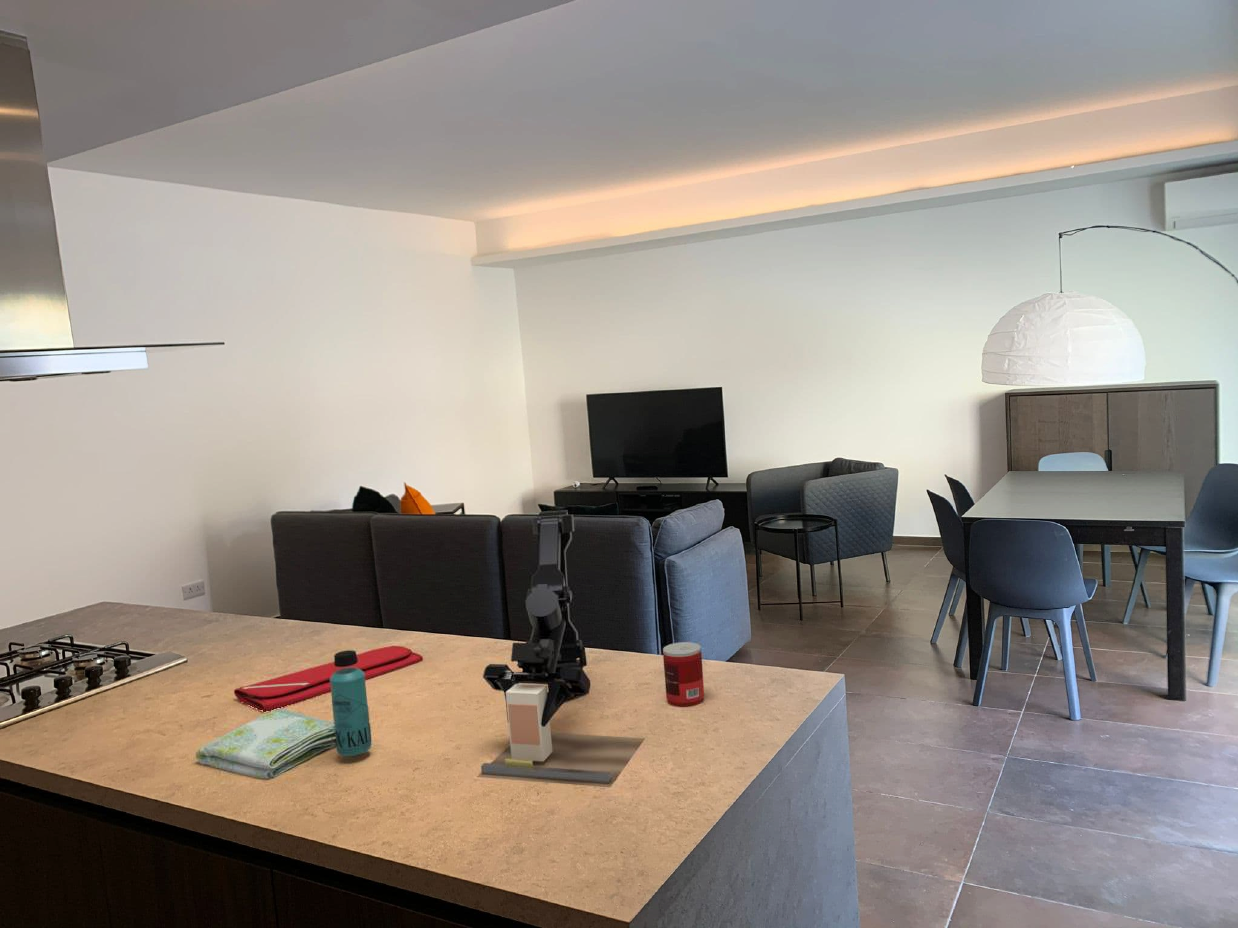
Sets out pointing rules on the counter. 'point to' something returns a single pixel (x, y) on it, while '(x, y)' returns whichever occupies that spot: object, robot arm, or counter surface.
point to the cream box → (528, 722)
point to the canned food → (683, 674)
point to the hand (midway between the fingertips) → (525, 724)
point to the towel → (269, 744)
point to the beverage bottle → (350, 706)
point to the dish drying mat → (321, 679)
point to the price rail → (544, 772)
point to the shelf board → (581, 756)
